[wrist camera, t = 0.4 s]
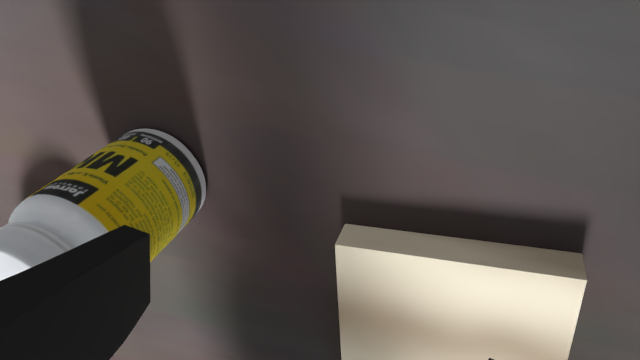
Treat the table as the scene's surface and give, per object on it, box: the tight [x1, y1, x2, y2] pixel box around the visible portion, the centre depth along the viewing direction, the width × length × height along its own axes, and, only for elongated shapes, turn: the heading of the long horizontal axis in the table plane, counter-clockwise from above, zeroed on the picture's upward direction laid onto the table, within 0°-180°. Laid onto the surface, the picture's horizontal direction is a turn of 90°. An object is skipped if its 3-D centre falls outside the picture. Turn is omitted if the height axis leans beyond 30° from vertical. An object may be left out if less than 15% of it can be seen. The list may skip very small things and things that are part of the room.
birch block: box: [335, 224, 587, 360], centre depth 22 cm, size 9×9×2 cm
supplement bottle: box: [0, 129, 206, 281], centre depth 20 cm, size 5×5×8 cm
